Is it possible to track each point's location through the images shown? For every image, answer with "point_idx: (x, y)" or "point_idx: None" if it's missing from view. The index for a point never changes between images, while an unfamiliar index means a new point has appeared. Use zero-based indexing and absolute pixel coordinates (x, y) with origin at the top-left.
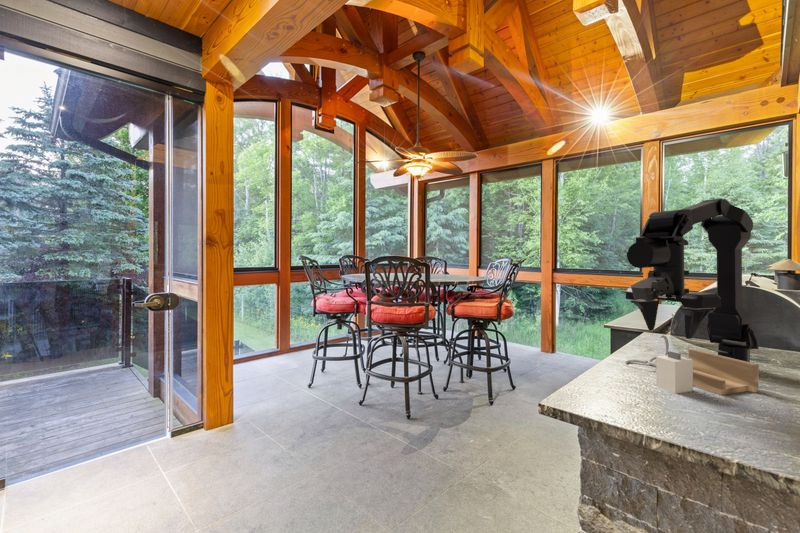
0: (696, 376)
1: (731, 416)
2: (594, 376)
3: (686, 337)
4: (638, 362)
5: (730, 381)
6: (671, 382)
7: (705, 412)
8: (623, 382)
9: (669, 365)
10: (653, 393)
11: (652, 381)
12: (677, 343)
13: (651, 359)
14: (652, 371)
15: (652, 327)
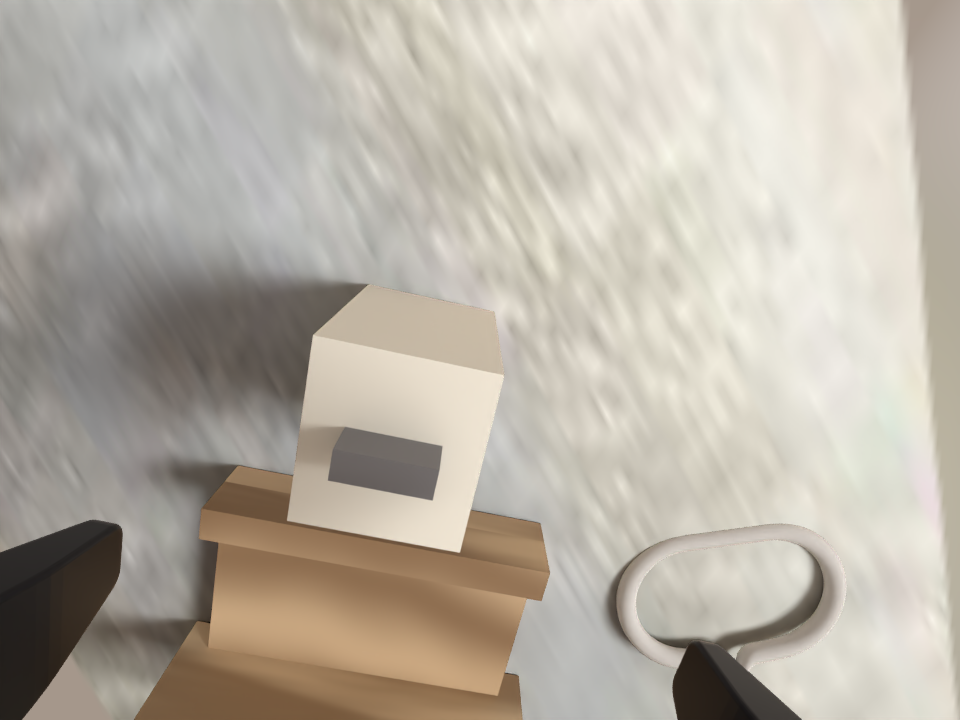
0: None
1: (17, 177)
2: (851, 146)
3: (96, 523)
4: (780, 636)
5: (283, 645)
6: (382, 301)
7: (104, 110)
8: (655, 204)
9: (376, 333)
10: (432, 166)
11: (557, 383)
12: None
13: None
14: (648, 552)
15: (694, 709)
